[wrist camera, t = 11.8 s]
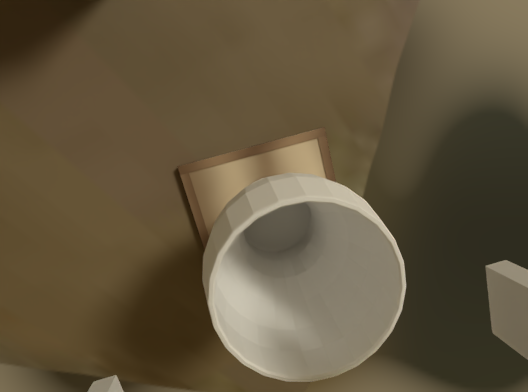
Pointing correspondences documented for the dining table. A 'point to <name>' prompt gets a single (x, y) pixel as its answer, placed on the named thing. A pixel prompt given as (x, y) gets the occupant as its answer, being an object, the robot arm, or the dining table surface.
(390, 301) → the cup
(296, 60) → the dining table surface
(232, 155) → the picture frame
